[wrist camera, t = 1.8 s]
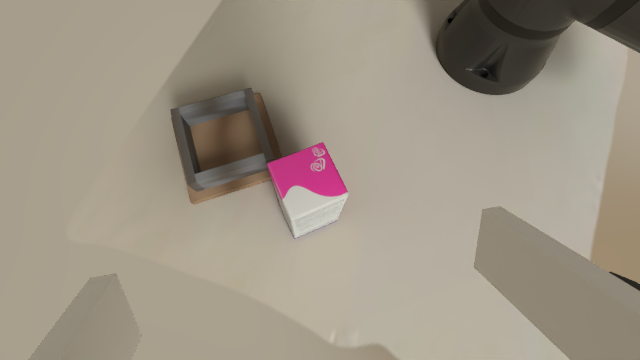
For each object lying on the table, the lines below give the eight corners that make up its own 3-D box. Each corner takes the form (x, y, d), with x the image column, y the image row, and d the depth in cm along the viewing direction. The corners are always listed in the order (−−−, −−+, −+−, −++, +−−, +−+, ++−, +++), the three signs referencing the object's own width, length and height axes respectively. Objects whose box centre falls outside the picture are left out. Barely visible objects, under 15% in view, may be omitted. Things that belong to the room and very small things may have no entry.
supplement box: (339, 220, 37) (350, 195, 26) (294, 240, 36) (286, 223, 25) (319, 178, 39) (323, 139, 28) (276, 196, 38) (262, 163, 27)
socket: (261, 97, 42) (256, 79, 38) (287, 174, 39) (284, 163, 35) (174, 121, 40) (160, 105, 37) (193, 204, 37) (180, 195, 33)
